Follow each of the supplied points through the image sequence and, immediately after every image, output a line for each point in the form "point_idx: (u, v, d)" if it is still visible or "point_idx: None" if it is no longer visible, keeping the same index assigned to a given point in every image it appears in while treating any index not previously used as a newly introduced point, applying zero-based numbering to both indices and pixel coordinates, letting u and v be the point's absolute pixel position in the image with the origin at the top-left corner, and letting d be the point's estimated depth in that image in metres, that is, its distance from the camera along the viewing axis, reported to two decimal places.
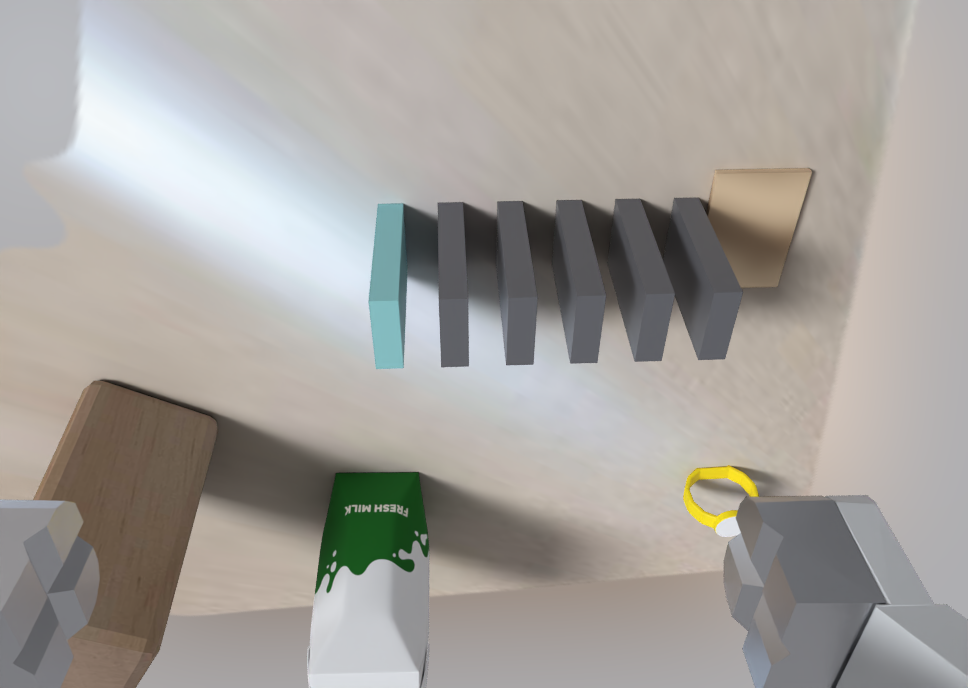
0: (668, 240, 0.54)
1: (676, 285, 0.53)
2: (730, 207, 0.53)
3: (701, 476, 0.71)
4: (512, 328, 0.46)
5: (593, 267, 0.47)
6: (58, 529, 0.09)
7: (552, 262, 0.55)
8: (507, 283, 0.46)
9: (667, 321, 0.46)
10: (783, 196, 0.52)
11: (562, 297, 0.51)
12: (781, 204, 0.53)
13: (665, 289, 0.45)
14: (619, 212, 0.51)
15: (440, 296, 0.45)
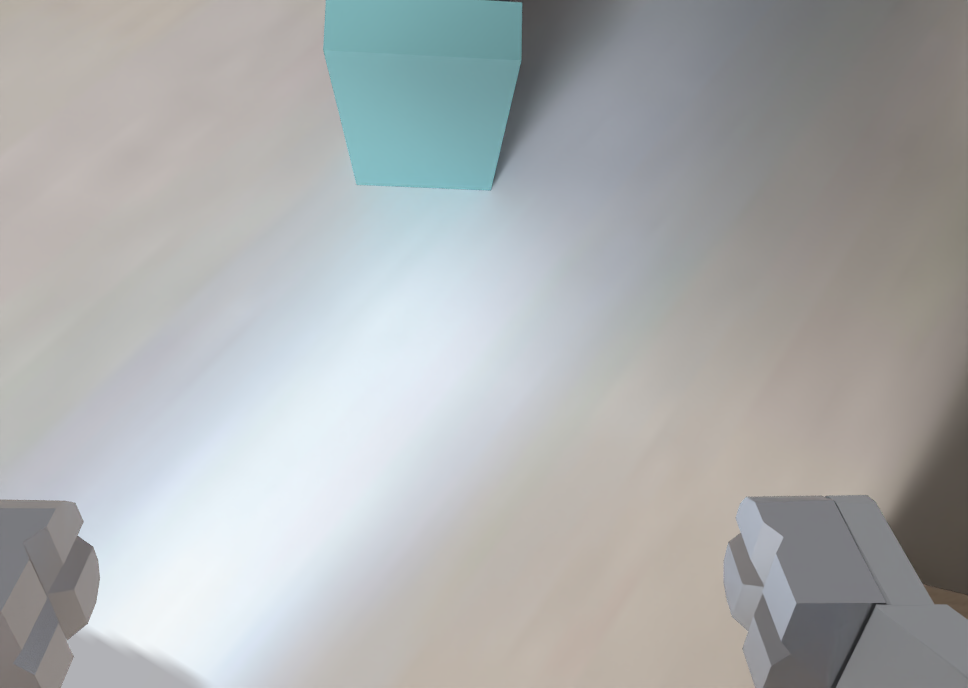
0: None
1: None
2: None
3: None
4: None
5: None
6: (58, 529, 0.09)
7: None
8: None
9: None
10: None
11: None
12: None
13: None
14: None
15: None
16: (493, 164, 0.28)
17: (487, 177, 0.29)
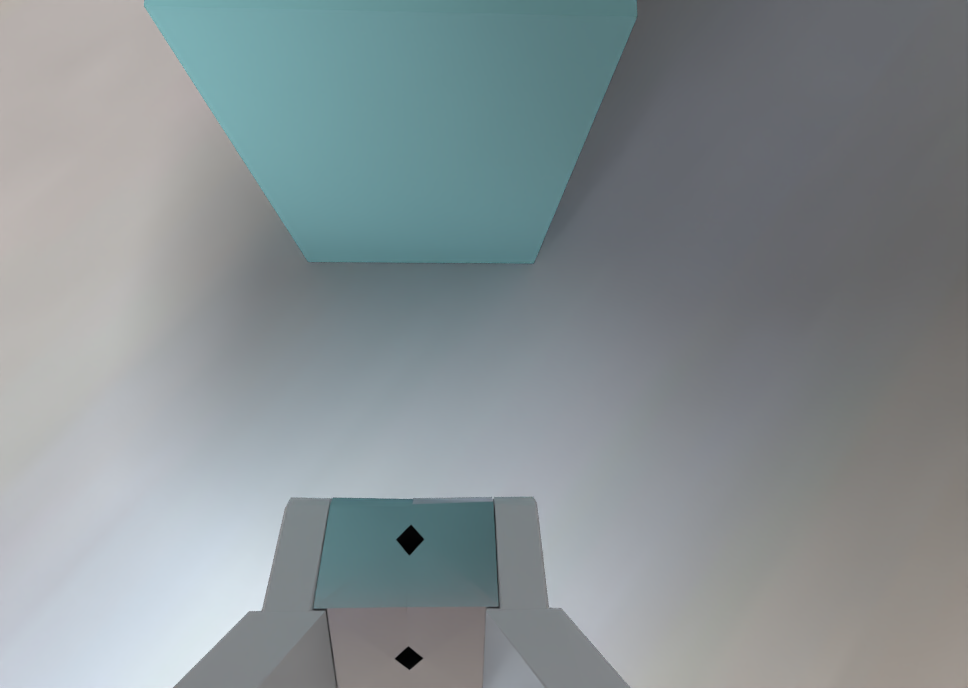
0: None
1: None
2: None
3: None
4: None
5: None
6: None
7: None
8: None
9: None
10: None
11: None
12: None
13: None
14: None
15: None
16: (542, 228, 0.16)
17: (528, 247, 0.17)
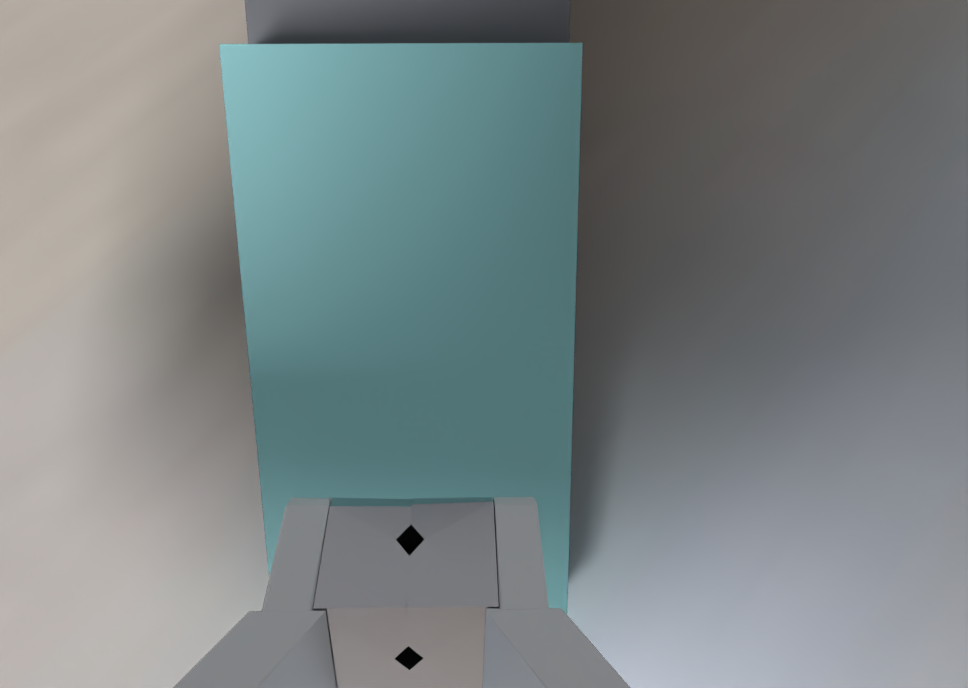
0: None
1: None
2: None
3: None
4: None
5: None
6: None
7: None
8: None
9: None
10: None
11: None
12: None
13: None
14: None
15: None
16: (562, 514, 0.14)
17: (554, 585, 0.14)
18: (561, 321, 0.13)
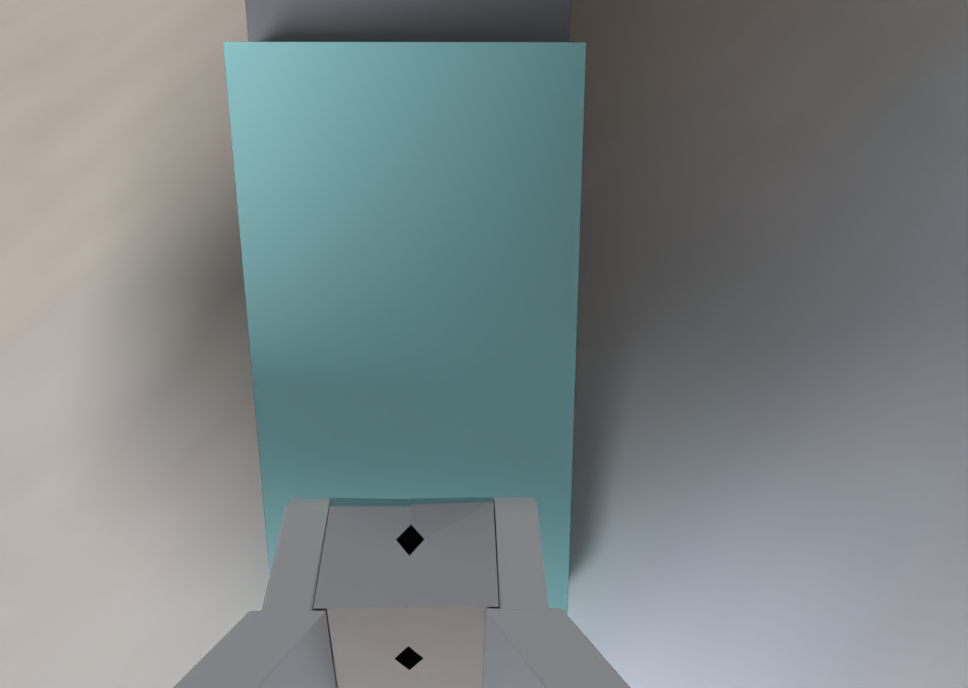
0: None
1: None
2: None
3: None
4: None
5: None
6: None
7: None
8: None
9: None
10: None
11: None
12: None
13: None
14: None
15: None
16: (563, 514, 0.14)
17: (554, 585, 0.14)
18: (563, 321, 0.13)
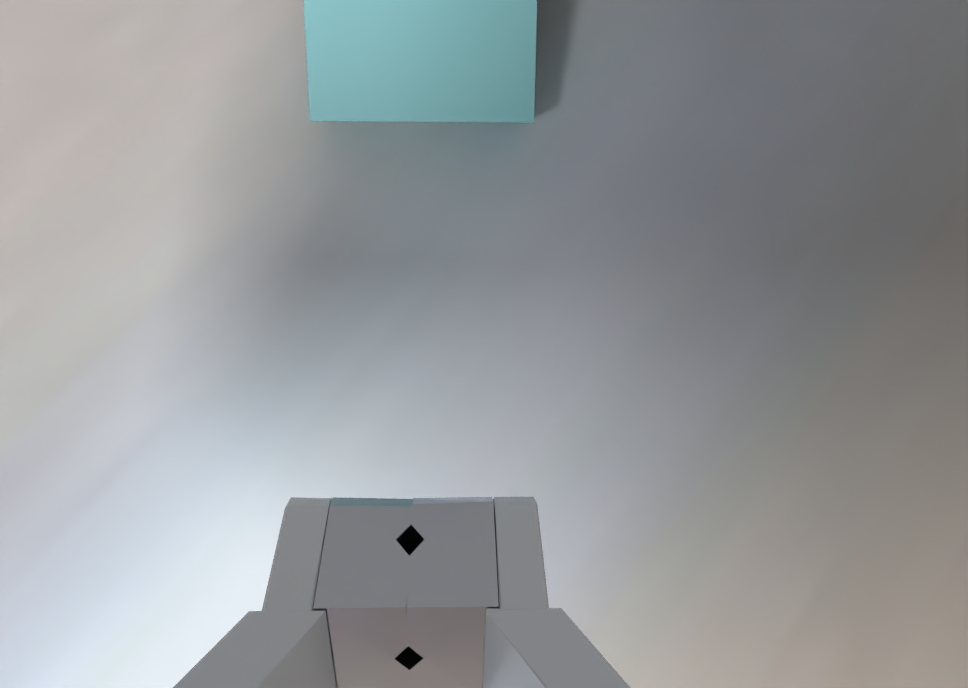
0: None
1: None
2: None
3: None
4: None
5: None
6: None
7: None
8: None
9: None
10: None
11: None
12: None
13: None
14: None
15: None
16: None
17: (524, 60, 0.18)
18: None
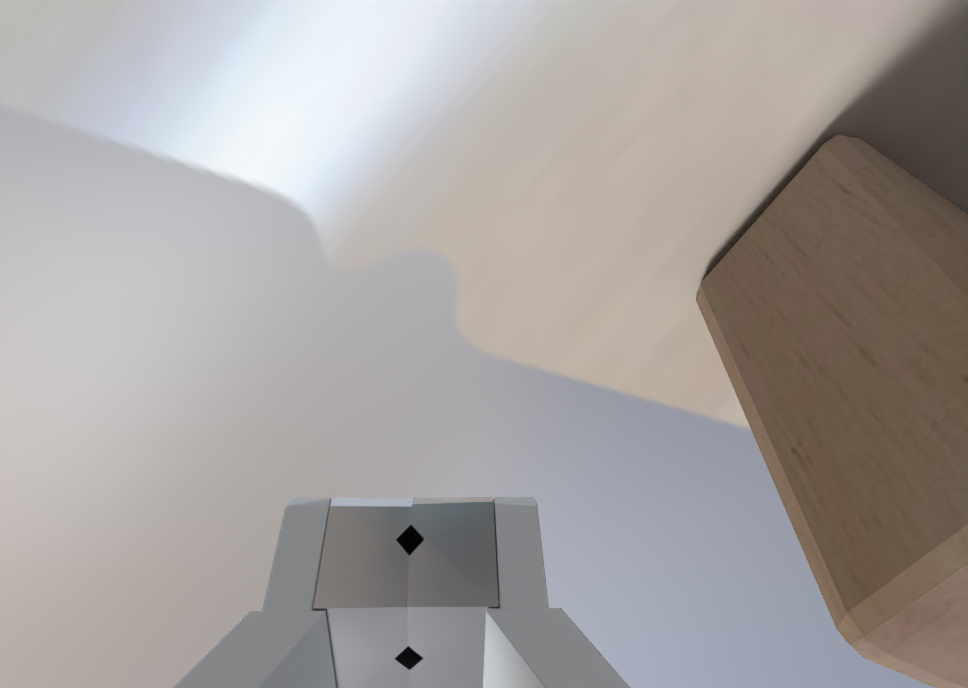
0: None
1: None
2: None
3: None
4: None
5: None
6: None
7: None
8: None
9: None
10: None
11: None
12: None
13: None
14: None
15: None
16: None
17: None
18: None
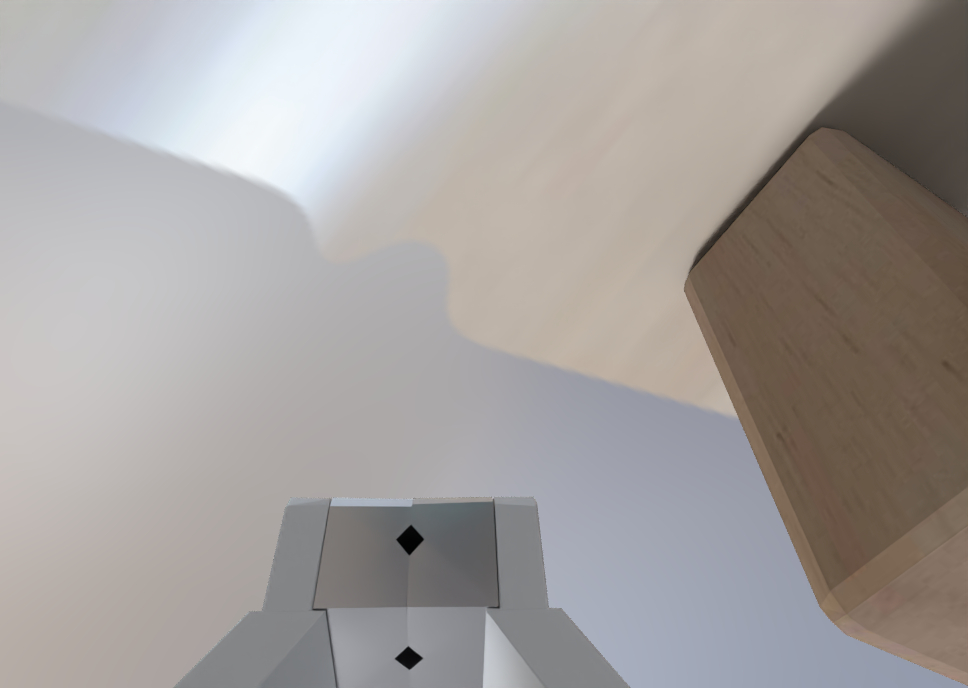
0: None
1: None
2: None
3: None
4: None
5: None
6: None
7: None
8: None
9: None
10: None
11: None
12: None
13: None
14: None
15: None
16: None
17: None
18: None
